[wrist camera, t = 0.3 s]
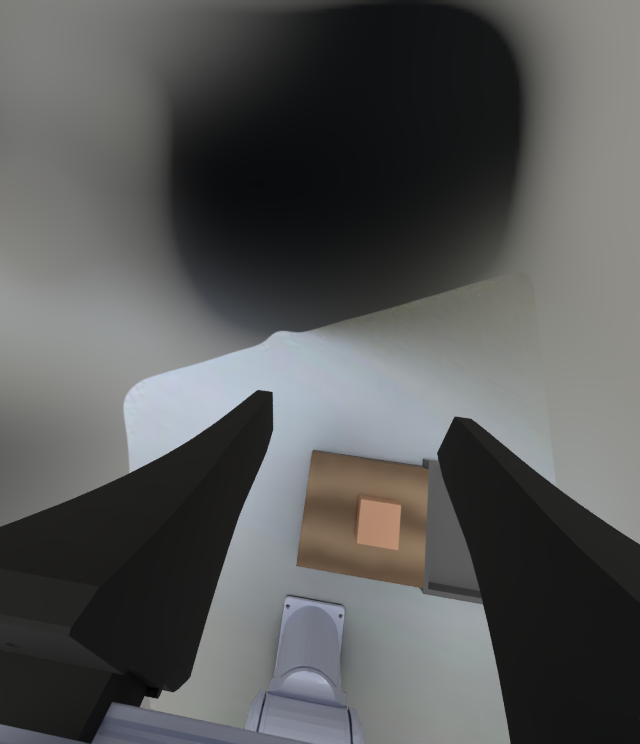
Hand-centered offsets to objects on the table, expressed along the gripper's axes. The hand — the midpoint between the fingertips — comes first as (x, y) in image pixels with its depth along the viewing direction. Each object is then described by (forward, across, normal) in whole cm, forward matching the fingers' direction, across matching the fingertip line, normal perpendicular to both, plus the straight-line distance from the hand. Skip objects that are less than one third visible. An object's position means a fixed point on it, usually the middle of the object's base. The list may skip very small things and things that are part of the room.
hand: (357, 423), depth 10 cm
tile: (+11, -7, +25) cm, 29 cm away
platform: (+13, -5, +28) cm, 31 cm away
